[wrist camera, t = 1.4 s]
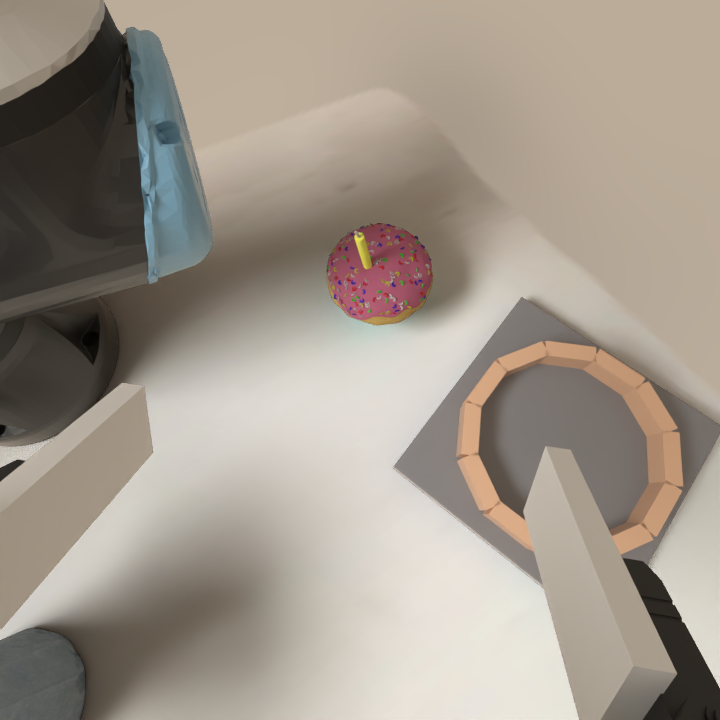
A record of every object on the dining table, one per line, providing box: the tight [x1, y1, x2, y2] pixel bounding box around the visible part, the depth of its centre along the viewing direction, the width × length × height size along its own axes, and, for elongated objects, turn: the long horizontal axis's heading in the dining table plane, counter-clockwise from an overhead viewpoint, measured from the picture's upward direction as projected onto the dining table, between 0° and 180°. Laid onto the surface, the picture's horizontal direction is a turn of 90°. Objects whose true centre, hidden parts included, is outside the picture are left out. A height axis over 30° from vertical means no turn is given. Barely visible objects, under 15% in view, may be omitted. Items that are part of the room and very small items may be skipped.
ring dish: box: [393, 297, 720, 589], centre depth 34 cm, size 18×18×4 cm
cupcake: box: [327, 223, 433, 325], centre depth 35 cm, size 9×8×12 cm
